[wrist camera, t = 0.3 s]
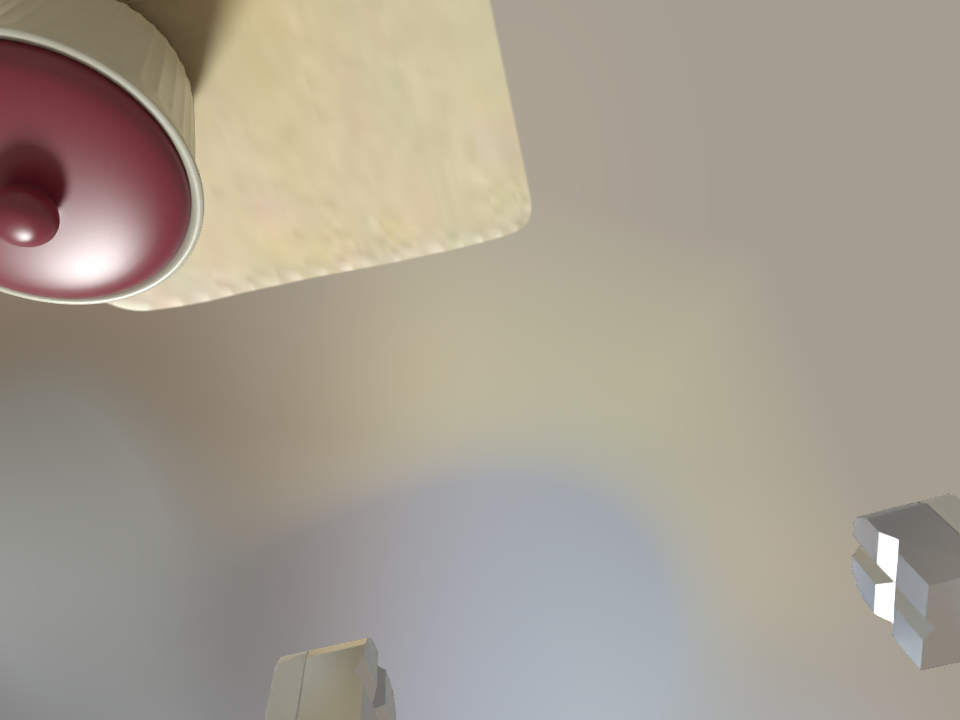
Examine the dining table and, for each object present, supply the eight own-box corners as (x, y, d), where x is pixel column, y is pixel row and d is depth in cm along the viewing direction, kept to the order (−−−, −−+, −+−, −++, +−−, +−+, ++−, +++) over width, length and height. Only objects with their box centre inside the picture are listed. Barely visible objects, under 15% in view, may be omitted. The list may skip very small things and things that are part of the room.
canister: (265, 39, 52) (247, 180, 38) (175, 215, 61) (132, 386, 47) (-10, -127, 43) (-178, -26, 28) (-69, 109, 52) (-220, 281, 37)
